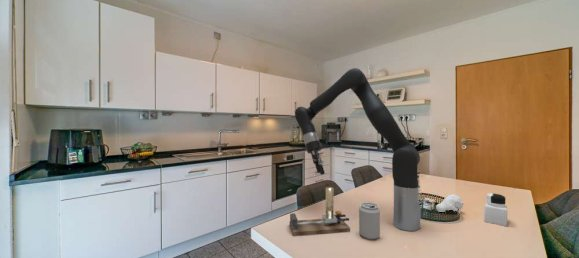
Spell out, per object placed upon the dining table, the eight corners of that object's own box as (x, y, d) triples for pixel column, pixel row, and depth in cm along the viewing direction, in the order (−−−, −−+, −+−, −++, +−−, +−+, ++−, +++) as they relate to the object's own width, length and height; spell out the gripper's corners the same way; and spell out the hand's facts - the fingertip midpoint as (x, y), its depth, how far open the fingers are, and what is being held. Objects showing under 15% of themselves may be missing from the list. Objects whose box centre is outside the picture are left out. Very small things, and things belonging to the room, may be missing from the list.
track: (340, 220, 98) (340, 207, 98) (350, 231, 88) (350, 216, 88) (289, 224, 95) (289, 210, 94) (293, 236, 85) (293, 220, 85)
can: (377, 242, 80) (377, 209, 80) (356, 237, 84) (356, 205, 84) (381, 234, 86) (381, 203, 86) (361, 229, 90) (361, 200, 90)
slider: (344, 217, 95) (345, 185, 95) (349, 221, 91) (349, 188, 91) (322, 218, 94) (322, 186, 94) (325, 223, 89) (325, 189, 89)
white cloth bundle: (464, 196, 105) (441, 199, 103) (465, 213, 105) (443, 217, 103) (452, 192, 111) (431, 195, 109) (454, 208, 111) (432, 212, 110)
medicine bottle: (506, 221, 97) (507, 194, 97) (507, 226, 92) (507, 198, 92) (484, 216, 102) (485, 191, 102) (484, 221, 97) (484, 194, 97)
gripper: (316, 136, 106) (326, 169, 100) (321, 143, 119) (330, 172, 113) (302, 141, 107) (311, 174, 101) (308, 147, 120) (316, 176, 114)
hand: (321, 173), depth 107 cm, fingers open, 8 cm apart
